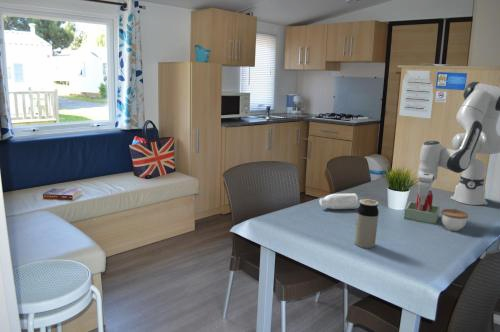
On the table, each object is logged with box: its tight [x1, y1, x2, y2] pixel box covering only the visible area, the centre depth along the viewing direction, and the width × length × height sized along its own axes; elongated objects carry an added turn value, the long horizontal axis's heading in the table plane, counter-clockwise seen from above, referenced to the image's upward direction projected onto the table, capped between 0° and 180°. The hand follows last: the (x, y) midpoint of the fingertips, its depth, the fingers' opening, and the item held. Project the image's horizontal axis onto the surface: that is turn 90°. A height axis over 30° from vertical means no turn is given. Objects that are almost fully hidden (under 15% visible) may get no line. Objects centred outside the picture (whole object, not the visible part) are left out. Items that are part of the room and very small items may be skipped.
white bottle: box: [318, 192, 359, 210], centre depth 213 cm, size 8×19×8 cm, turn 102°
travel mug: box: [353, 198, 380, 249], centre depth 166 cm, size 8×8×18 cm
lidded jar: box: [441, 208, 469, 232], centre depth 190 cm, size 11×11×9 cm
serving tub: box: [403, 201, 441, 225], centre depth 205 cm, size 14×14×5 cm
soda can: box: [415, 190, 434, 212], centre depth 205 cm, size 7×7×12 cm
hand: (423, 202), depth 204 cm, fingers open, 8 cm apart
